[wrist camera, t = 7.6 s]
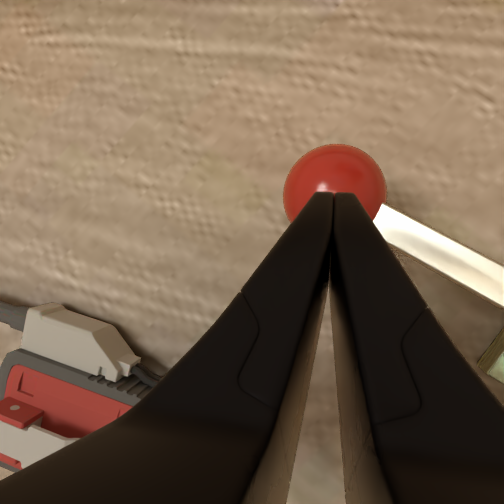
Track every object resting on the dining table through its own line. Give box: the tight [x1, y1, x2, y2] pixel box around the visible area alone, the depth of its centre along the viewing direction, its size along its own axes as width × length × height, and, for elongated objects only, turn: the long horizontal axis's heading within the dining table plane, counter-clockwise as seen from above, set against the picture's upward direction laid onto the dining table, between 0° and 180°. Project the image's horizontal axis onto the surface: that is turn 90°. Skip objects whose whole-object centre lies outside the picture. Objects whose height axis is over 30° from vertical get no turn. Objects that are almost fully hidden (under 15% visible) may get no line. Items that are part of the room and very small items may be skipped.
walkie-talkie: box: [0, 301, 162, 473], centre depth 19 cm, size 9×4×20 cm
